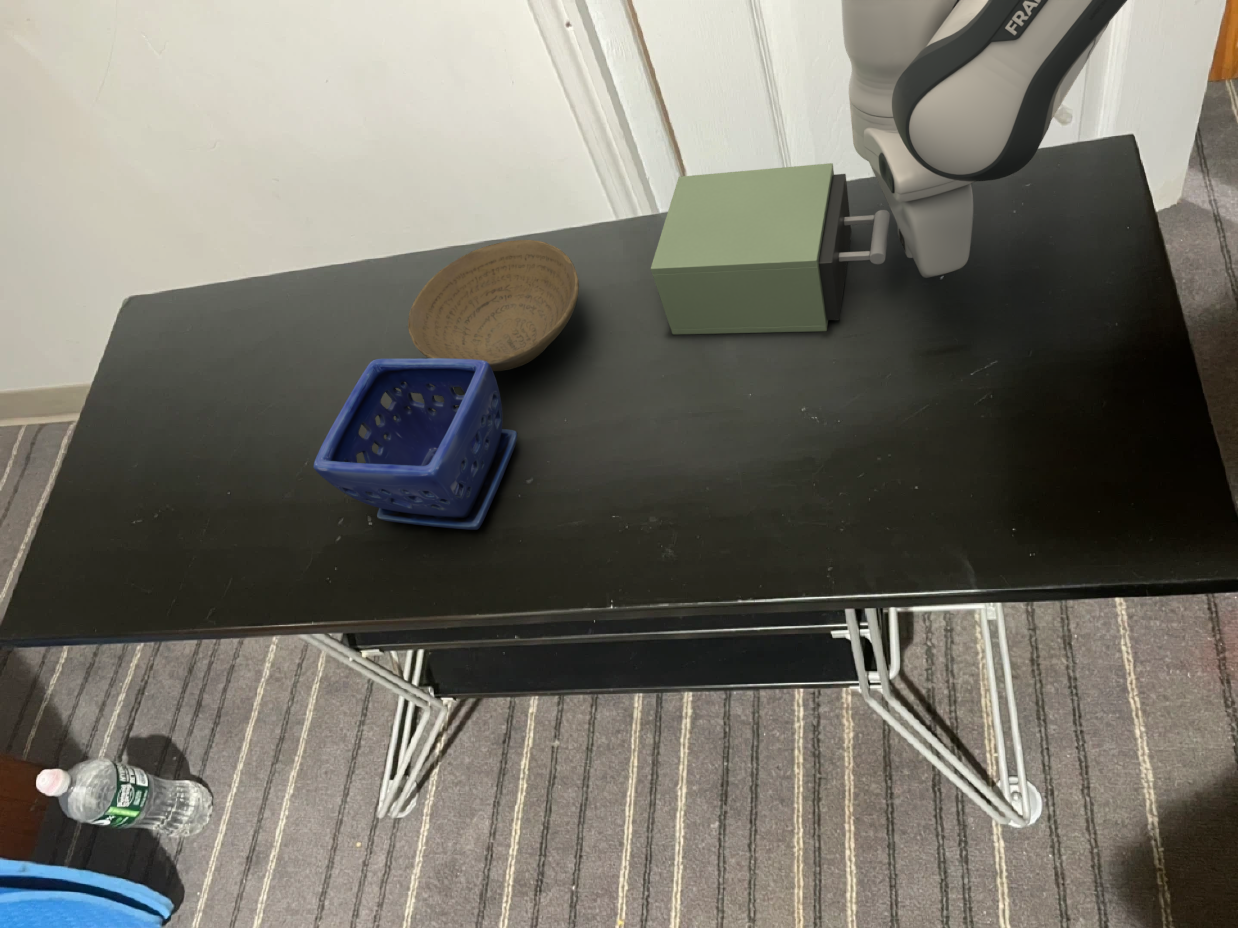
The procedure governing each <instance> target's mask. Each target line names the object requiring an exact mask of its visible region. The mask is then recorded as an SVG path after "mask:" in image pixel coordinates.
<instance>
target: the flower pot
mask: <svg viewBox="0 0 1238 928" xmlns="http://www.w3.org/2000/svg"><path fill="white" fill-rule="evenodd" d="M454 388H460V389H461V390H462V391H463V393H464V394H461V395H459V394H457V393H456V391H455V389H454ZM384 394H387V397H389V399H390V401H391V403H390V404H389V406H388V407H387V408H386V407H385V406H384V405H383V404H382V398H383V396H384ZM412 394H418V395H419V394H420V395H421V397H422V400H423V402H421V401H416V400H414V399H413V396H412ZM436 396H437V397H442V399H443V401H438V400H436V398H435V397H436ZM377 417H378V418H379V421H380V422H379V424H377V420H376V418H377ZM362 426H363V428H364V429H365V430H366V432H365V434H364V436H363V437H362V436H361V434H360V430H361V427H362ZM517 441H518V432H517V430H514V429H507V428H506V429H505V428H503V405H502V399H501V394H500V389H499V386H498V382H497V379H496V377H495V374H494V371H492V368H491V366H490V365H489V363H488V362H487V361H484V360H475V359H447V358H427V357H426V358H376V359H373V360H371V361H370V362H369V363H368V365H366V367H365V370H364V371H363V372H362V374H361V375H360V377H359V378H358V380H357V382H356V384H355V385H354V387H353V389H352V391H351V392H350V393H349V396H348V397H347V399H346V401H345V403H344V404H343V405H342V408H341V409H340V411H339V412H338V415H337V416H336V418H335V420H334V422H333V424H332V425H331V427H330V429H329V431H328V433H327V434H326V436H325V438H324V440H323V442H322V444H321V446H320V448H319V450H318V452H317V454H316V457H315V459H314V462H313V469H314V470H315V472H316V473H317V474H318V475H319V476H320V477H322V479H324V480H325V481H327V482H328V483H329V484H330V485H331V486H333V487H334V488H336V489H337V490H339V491H340V492H341V493H344V494H345V495H347V496H348V497H351V498H352V499H355V500H356V501H359V502H361V503H363V504H366V505H369V506H371V507H374V508H378V510H377V514H376V516H377V519H378V520H381V521H386V522H392V523H400V524H409V525H417V526H426V527H433V528H434V527H436V528H447V529H457V530H470V531H471V530H475V531H476V530H479V529H480V528H481V527H482V525H483V523H484V521H485V518H486V516H487V514H488V512H489V509H490V507H491V505H492V503H493V501H494V498H495V496H496V494H497V492H498V490H499V486H500V484H501V482H502V480H503V477H504V475H505V473H506V470H507V467H508V464H509V462H510V459H511V458H512V455H513V453H514V449H515V447H516V444H517ZM374 444H375V445H376V446H377V447H378V449H377V453H376V452H375V451H374V450H373V446H374ZM360 453H361V454H362V455H363V458H364V461H365V463H364V462H358V457H357V456H358V455H359V454H360Z"/></svg>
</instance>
